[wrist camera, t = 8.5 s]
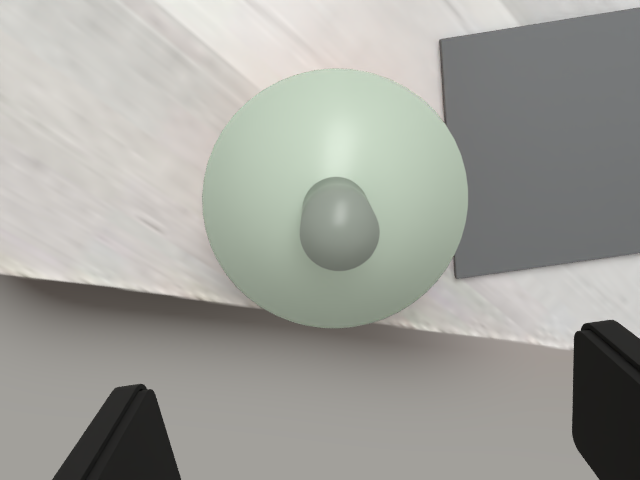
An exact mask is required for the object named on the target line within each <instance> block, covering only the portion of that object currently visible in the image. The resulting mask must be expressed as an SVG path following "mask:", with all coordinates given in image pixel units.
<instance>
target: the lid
mask: <svg viewBox="0 0 640 480" xmlns="http://www.w3.org/2000/svg"><path fill="white" fill-rule="evenodd" d="M202 202H203V217H204V223H205V228H206V232H207V235H208V239H209V242H210V245H211V247H212V250H213V252H214V254H215V256H216V258H217V260H218V262H219V264H220V265H221V267H222V268H223V270H224V272H225V273H226V275H227V276H228V277H229V278H230V279H231V281H232V282H233V283H234V284H235V286H236V287H237V288H238V289H239V290H240V291H242V292H243V293H244V294H245V295H246V296H247V297H248V298H249V299H251V300H252V301H253V302H255V303H256V304H257V305H259V306H260V307H262V308H263V309H265V310H267V311H269V312H270V313H272V314H274V315H276V316H279V317H281V318H284V319H286V320H288V321H291V322H295V323H298V324H302V325H306V326H312V327H319V328H346V327H347V328H348V327H355V326H361V325H365V324H370V323H373V322H376V321H379V320H382V319H385V318H387V317H389V316H391V315H393V314H395V313H398V312H399V311H401V310H403V309H404V308H406V307H407V306H409V305H411V304H412V303H414V302H415V301H416V300H417V299H419V298H420V297H421V296H422V295H424V294H425V293H426V292H427V291H428V290H429V289H430V288H431V287H432V286H433V285H434V284H435V283H436V282H437V280H438V279H439V278H440V276H441V275H442V274H443V272H444V271H445V270H446V268H447V267H448V265H449V263H450V261H451V260H452V258H453V256H454V255H455V252H456V250H457V248H458V245H459V243H460V241H461V238H462V234H463V230H464V227H465V223H466V217H467V210H468V185H467V177H466V171H465V167H464V163H463V160H462V156H461V153H460V151H459V149H458V146H457V144H456V142H455V139H454V138H453V136H452V134H451V133H450V131H449V129H448V128H447V126H446V124H445V123H444V122H443V121H442V119H441V118H440V117H439V116H438V114H437V113H436V112H435V111H434V110H433V109H432V108H431V107H430V106H429V105H428V104H427V103H426V102H425V101H424V100H423V99H421V98H420V97H419V96H417V95H416V94H415V93H413V92H412V91H410V90H409V89H407V88H406V87H404V86H402V85H400V84H398V83H396V82H394V81H392V80H390V79H388V78H385V77H382V76H379V75H376V74H373V73H369V72H364V71H359V70H353V69H323V70H314V71H310V72H305V73H301V74H297V75H294V76H292V77H289V78H286V79H284V80H281V81H279V82H277V83H275V84H273V85H272V86H270V87H268V88H266V89H264V90H263V91H261V92H260V93H259V94H257V95H256V96H255V97H253V98H252V99H251V100H249V101H248V102H247V103H246V104H245V105H244V106H243V107H242V108H241V109H240V110H239V111H238V112H237V113H236V114H235V115H234V116H233V117H232V119H231V120H230V121H229V123H228V124H227V125H226V127H225V128H224V129H223V131H222V133H221V135H220V136H219V138H218V140H217V142H216V144H215V145H214V148H213V150H212V153H211V156H210V158H209V161H208V164H207V168H206V173H205V177H204V184H203V194H202Z"/></svg>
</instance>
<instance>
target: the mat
mask: <svg viewBox="0 0 640 480" xmlns="http://www.w3.org/2000/svg"><path fill="white" fill-rule="evenodd" d="M440 54H441V69H442V85H443V100H444V115H445V124H446V126H447V128H448V129H449V131H450V133H451V134H452V136H453V138H454V139H455V142H456V144H457V146H458V149H459V151H460V153H461V156H462V160H463V163H464V167H465V171H466V177H467V185H468V210H467V217H466V223H465V227H464V230H463V234H462V238H461V241H460V243H459V245H458V248H457V250H456V252H455V255H454V269H455V277H456V278H457V279H459V278H466V277H473V276H480V275H488V274H495V273H502V272H509V271H516V270H523V269H530V268H537V267H544V266H551V265H558V264H566V263H573V262H580V261H587V260H594V259H601V258H608V257H615V256H622V255H629V254H636V253H640V8H633V9H627V10H621V11H615V12H608V13H602V14H596V15H590V16H583V17H577V18H571V19H565V20H558V21H552V22H546V23H539V24H533V25H527V26H521V27H514V28H508V29H502V30H496V31H489V32H483V33H477V34H471V35H464V36H458V37H452V38H446V39H441V40H440Z"/></svg>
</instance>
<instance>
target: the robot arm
mask: <svg viewBox="0 0 640 480" xmlns="http://www.w3.org/2000/svg"><path fill="white" fill-rule="evenodd" d="M572 435H573V440H574V443H575V445H576V447H577V449H578V451H579V452H580V453H581V455H582V456H583V458H584V459H585V461H586V462H587V463H588V465H589V466H590V467H591V469H592V470H593V471H594V472H595V474H596V475H597V477H598V478H599V480H640V339H639V338H638V337H636V336H635V335H634V334H633V333H631V332H630V331H629V330H627V329H626V328H625V327H623V326H622V325H621V324H619V323H618V322H616V321H614V320H606V321H599V322H592V323H585V324H584V325H583V326H582V328H581V331H577V332H576V333H575V335H574V368H573V417H572ZM52 480H181V478H180V474H179V471H178V468H177V464H176V461H175V458H174V454H173V451H172V448H171V445H170V441H169V438H168V435H167V431H166V428H165V425H164V422H163V418H162V415H161V412H160V408H159V405H158V402H157V399H156V395H155V393H154V391H153V390H151V389H149V390H147V389H146V387H145V385H143V384H137V385H129V386H122V387H117V388H115V389H114V390H113V391H112V393H111V394H110V396H109V397H108V398H107V400H106V402H105V403H104V404H103V406H102V407H101V409H100V410H99V412H98V413H97V415H96V416H95V418H94V419H93V421H92V422H91V424H90V425H89V426H88V428H87V429H86V431H85V432H84V434H83V435H82V437H81V438H80V440H79V441H78V443H77V444H76V446H75V447H74V449H73V450H72V451H71V453H70V454H69V456H68V457H67V459H66V460H65V462H64V463H63V465H62V466H61V468H60V469H59V470H58V472H57V473H56V475H55V476H54V478H53V479H52Z"/></svg>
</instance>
